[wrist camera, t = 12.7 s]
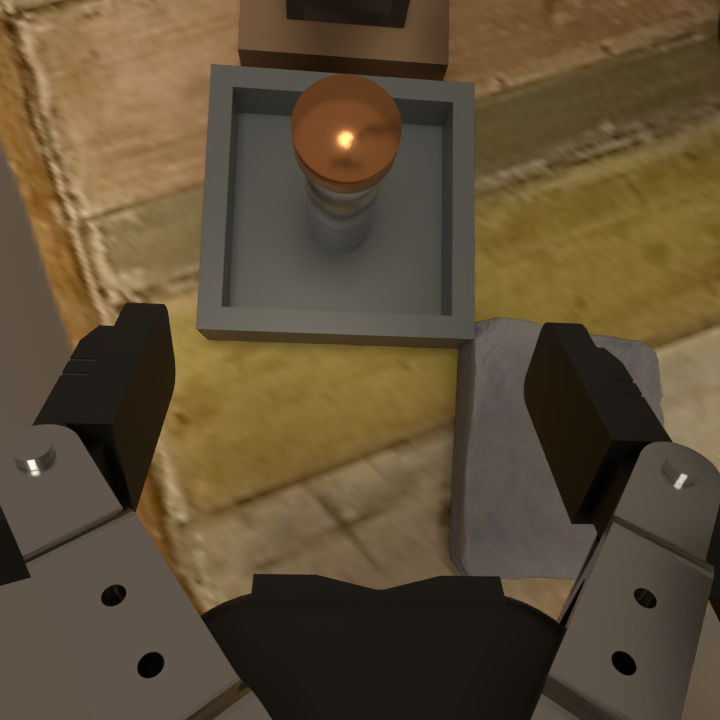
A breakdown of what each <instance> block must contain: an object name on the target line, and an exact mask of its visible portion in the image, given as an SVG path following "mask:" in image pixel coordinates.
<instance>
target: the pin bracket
mask: <svg viewBox="0 0 720 720" xmlns="http://www.w3.org/2000/svg"><path fill="white" fill-rule="evenodd" d="M448 36H449V0H241V4H240V24H239V43H238V51H239V56H240V61H241V66H244V67H257V68H271V69H285V70H298V71H312V72H326V73H339V74H353V75H367V76H380V77H394V78H408V79H421V80H435V81H442V80H443V77H444V75H445V72H446V70H447V67H448Z"/></svg>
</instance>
